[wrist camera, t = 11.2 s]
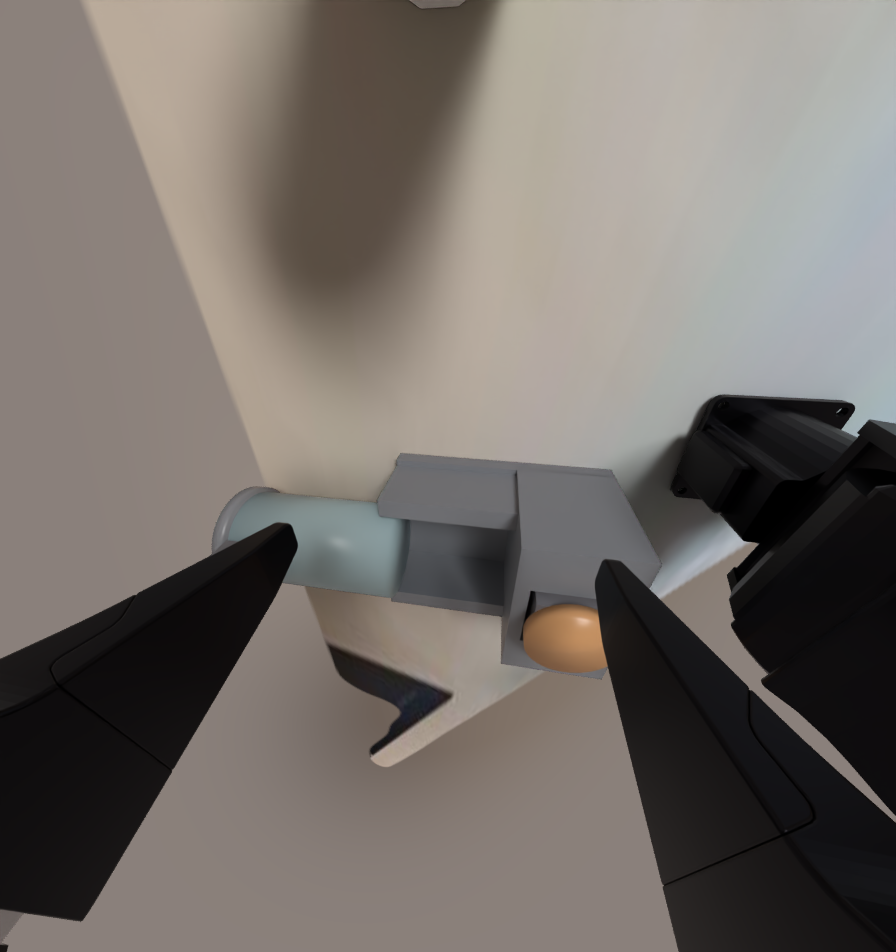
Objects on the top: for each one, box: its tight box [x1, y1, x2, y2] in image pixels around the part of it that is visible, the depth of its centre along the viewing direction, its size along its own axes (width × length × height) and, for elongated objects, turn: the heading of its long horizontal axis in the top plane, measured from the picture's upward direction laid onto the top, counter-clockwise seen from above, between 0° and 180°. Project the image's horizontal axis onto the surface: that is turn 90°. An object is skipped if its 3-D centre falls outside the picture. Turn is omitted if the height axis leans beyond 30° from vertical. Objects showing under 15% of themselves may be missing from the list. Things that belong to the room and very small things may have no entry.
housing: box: [377, 453, 662, 679], centre depth 21 cm, size 14×10×8 cm
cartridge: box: [210, 487, 411, 598], centre depth 21 cm, size 11×7×10 cm, turn 90°
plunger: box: [523, 591, 608, 673], centre depth 17 cm, size 5×5×4 cm
